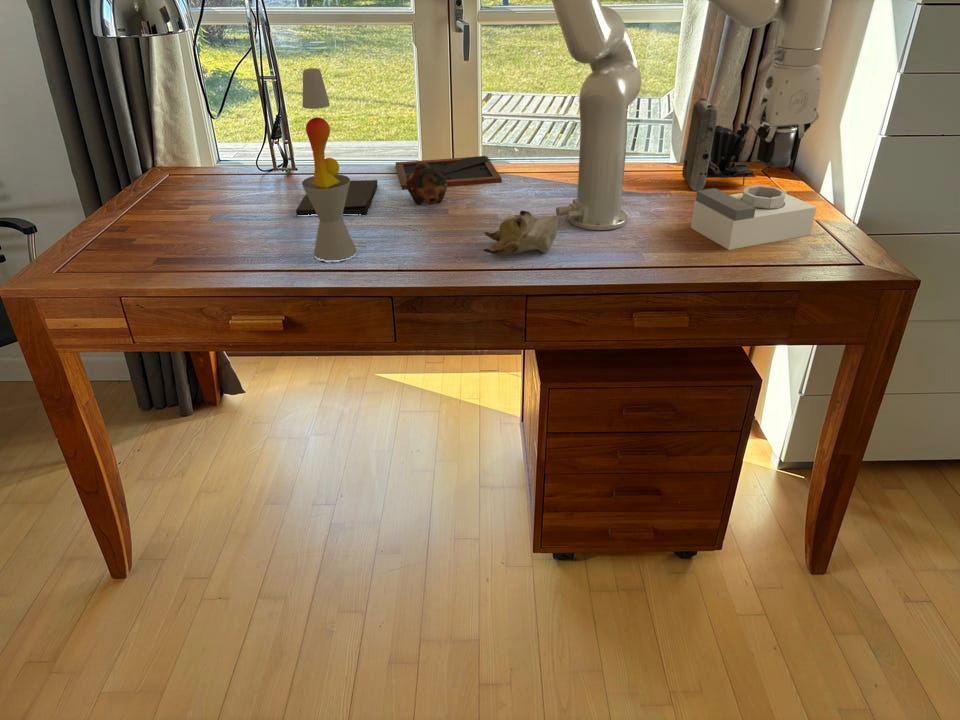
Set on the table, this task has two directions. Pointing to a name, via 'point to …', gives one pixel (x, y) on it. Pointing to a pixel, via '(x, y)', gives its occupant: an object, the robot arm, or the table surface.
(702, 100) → the vintage camera
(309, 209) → the dark brown rectangular slab
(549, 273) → the table surface
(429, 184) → the brown rounded lump
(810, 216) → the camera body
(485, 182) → the picture frame
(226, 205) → the table surface
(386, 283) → the table surface
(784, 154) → the silver grey short cylinder
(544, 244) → the ceramic sculpture
